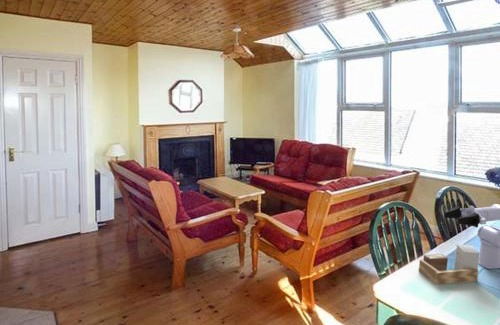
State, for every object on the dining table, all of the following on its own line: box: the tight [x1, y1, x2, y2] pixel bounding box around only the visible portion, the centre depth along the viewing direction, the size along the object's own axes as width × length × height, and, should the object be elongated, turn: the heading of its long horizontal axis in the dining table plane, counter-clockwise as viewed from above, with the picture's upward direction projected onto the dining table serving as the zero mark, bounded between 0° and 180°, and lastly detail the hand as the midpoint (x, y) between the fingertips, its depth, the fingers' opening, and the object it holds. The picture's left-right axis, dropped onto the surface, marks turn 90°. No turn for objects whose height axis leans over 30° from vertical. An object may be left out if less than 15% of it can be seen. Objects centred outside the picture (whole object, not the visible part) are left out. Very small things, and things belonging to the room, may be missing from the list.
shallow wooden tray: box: [418, 259, 479, 285], centre depth 144 cm, size 17×11×4 cm, turn 100°
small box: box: [453, 243, 480, 271], centre depth 146 cm, size 8×6×10 cm
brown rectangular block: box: [422, 253, 449, 271], centre depth 150 cm, size 4×8×5 cm, turn 100°
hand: (451, 217), depth 148 cm, fingers open, 7 cm apart
